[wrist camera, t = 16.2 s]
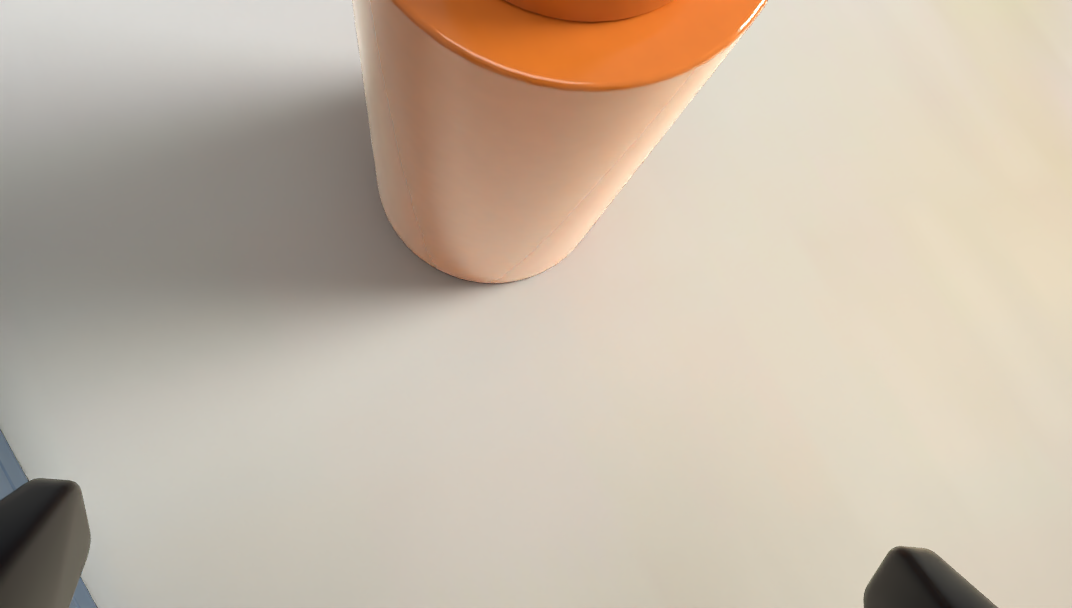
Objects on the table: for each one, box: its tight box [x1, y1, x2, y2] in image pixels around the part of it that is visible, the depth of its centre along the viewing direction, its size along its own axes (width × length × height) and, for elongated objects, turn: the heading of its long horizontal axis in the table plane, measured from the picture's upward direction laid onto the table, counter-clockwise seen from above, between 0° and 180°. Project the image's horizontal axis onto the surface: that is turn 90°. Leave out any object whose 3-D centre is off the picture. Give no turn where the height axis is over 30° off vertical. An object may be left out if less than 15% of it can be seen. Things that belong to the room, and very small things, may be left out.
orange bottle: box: [352, 0, 768, 283], centre depth 13 cm, size 6×6×13 cm
